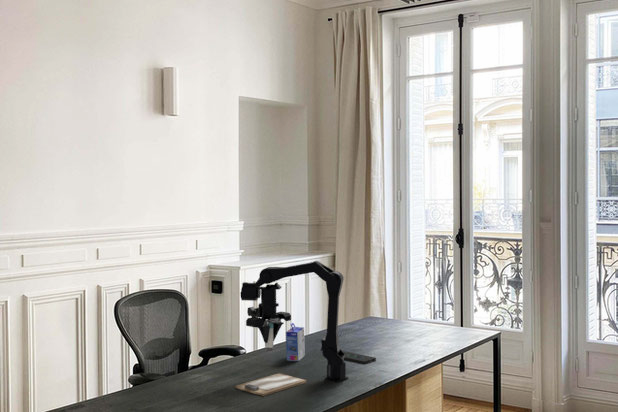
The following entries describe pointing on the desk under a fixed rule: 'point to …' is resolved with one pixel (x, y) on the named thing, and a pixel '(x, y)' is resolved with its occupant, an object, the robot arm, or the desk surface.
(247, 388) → the clipboard
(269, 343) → the marker
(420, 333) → the desk surface
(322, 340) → the robot arm
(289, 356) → the ink cartridge box
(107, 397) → the desk surface
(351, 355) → the smart home device
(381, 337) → the desk surface
